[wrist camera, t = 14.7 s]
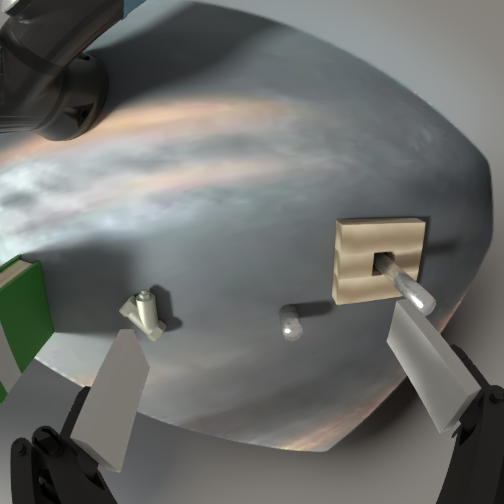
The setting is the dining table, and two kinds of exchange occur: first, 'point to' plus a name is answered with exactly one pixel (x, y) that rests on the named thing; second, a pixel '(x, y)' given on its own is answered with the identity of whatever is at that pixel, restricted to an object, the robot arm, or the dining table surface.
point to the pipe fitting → (144, 314)
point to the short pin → (290, 323)
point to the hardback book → (21, 319)
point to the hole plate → (362, 254)
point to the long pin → (404, 283)
